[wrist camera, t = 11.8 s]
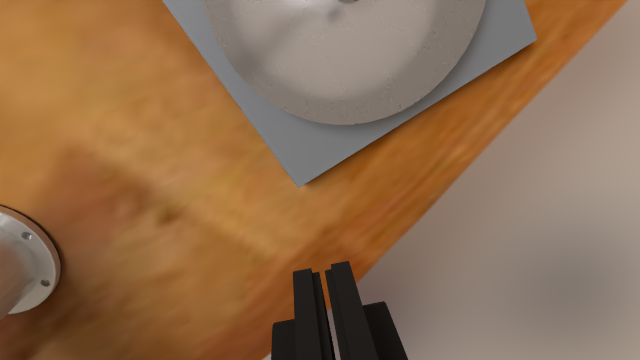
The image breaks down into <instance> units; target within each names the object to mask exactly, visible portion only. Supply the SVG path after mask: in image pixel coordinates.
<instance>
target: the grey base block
mask: <svg viewBox="0 0 640 360" xmlns="http://www.w3.org/2000/svg"><path fill="white" fill-rule="evenodd" d="M162 1H163V2H164V4H165V5H166V6H167V8H168V9H169V10H170V12H171V13H172V15H173V16H174V17H175V19H176V20H177V21H178V23H179V24H180V26H181V27H182V28H183V30H184V31H185V33H186V34H187V35H188V37H189V38H190V39H191V41H192V42H193V44H194V45H195V46H196V48H197V49H198V50H199V52H200V53H201V55H202V56H203V57H204V59H205V60H206V61H207V63H208V64H209V66H210V67H211V68H212V70H213V71H214V73H215V74H216V75H217V77H218V78H219V79H220V81H221V82H222V84H223V85H224V86H225V88H226V89H227V90H228V92H229V93H230V95H231V96H232V97H233V99H234V100H235V101H236V103H237V104H238V106H239V107H240V108H241V110H242V111H243V113H244V114H245V115H246V117H247V118H248V119H249V121H250V122H251V124H252V125H253V126H254V128H255V129H256V130H257V132H258V133H259V135H260V136H261V137H262V139H263V140H264V141H265V143H266V144H267V146H268V147H269V148H270V150H271V151H272V153H273V154H274V155H275V157H276V158H277V159H278V161H279V162H280V164H281V165H282V166H283V168H284V169H285V170H286V172H287V173H288V175H289V176H290V177H291V179H292V180H293V182H294V183H295V184H296V186H297V187H298V188H299V187H301V186H302V185H304V184H306V183H307V182H309V181H311V180H312V179H314V178H315V177H317V176H319V175H320V174H322V173H323V172H325V171H327V170H328V169H330V168H331V167H333V166H335V165H336V164H338V163H339V162H341V161H343V160H344V159H346V158H347V157H349V156H351V155H352V154H354V153H356V152H357V151H359V150H360V149H362V148H364V147H365V146H367V145H368V144H370V143H372V142H373V141H375V140H376V139H378V138H380V137H381V136H383V135H384V134H386V133H388V132H389V131H391V130H393V129H394V128H396V127H397V126H399V125H401V124H402V123H404V122H405V121H407V120H409V119H410V118H412V117H413V116H415V115H417V114H418V113H420V112H421V111H423V110H425V109H426V108H428V107H429V106H431V105H433V104H434V103H436V102H438V101H439V100H441V99H442V98H444V97H446V96H447V95H449V94H450V93H452V92H454V91H455V90H457V89H458V88H460V87H462V86H463V85H465V84H466V83H468V82H470V81H471V80H473V79H474V78H476V77H478V76H479V75H481V74H483V73H484V72H486V71H487V70H489V69H491V68H492V67H494V66H495V65H497V64H499V63H500V62H502V61H503V60H505V59H507V58H508V57H510V56H511V55H513V54H515V53H516V52H518V51H520V50H521V49H523V48H524V47H526V46H528V45H529V44H531V43H532V42H534V41H536V40H537V36H536V33H535V31H534V28H533V25H532V22H531V19H530V16H529V13H528V11H527V8H526V5H525V2H524V0H486V3H485V6H484V10H483V13H482V16H481V18H480V21H479V24H478V26H477V29H476V31H475V33H474V35H473V37H472V39H471V41H470V43H469V45H468V47H467V49H466V50H465V52H464V53H463V55H462V56H461V58H460V59H459V61H458V62H457V64H456V65H455V66H454V68H453V69H452V70H451V71H450V72H449V74H448V75H447V76H446V77H445V78H444V79H443V80H442V81H441V82H440V83H439V84H438V85H437V86H436V87H435V88H434V89H433V90H432V91H431V92H429V93H428V94H427V95H425V96H424V97H423V98H421V99H420V100H419V101H417V102H416V103H414V104H413V105H411V106H409V107H407V108H406V109H404V110H402V111H400V112H398V113H395V114H393V115H391V116H388V117H386V118H382V119H379V120H375V121H372V122H367V123H360V124H354V125H334V124H325V123H318V122H314V121H310V120H306V119H303V118H300V117H298V116H295V115H293V114H290V113H288V112H286V111H284V110H282V109H280V108H279V107H277V106H275V105H273V104H272V103H270V102H269V101H267V100H266V99H265V98H263V97H262V96H261V95H259V94H258V93H257V92H256V91H255V90H254V89H253V88H251V87H250V86H249V85H248V84H247V83H246V82H245V81H244V80H243V79H242V77H241V76H240V75H239V74H238V73H237V71H236V70H235V69H234V68H233V67H232V65H231V64H230V62H229V61H228V59H227V57H226V56H225V54H224V53H223V51H222V50H221V48H220V46H219V44H218V42H217V40H216V38H215V36H214V34H213V32H212V29H211V26H210V24H209V21H208V18H207V15H206V12H205V9H204V5H203V1H202V0H162Z"/></svg>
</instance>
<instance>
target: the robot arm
mask: <svg viewBox="0 0 640 360" xmlns="http://www.w3.org/2000/svg"><path fill="white" fill-rule="evenodd" d="M331 268H332V269H331V270H326V271H325V275H326V280H327V286H328V291H329V297H330V302H331V308H332V313H333V318H334V324H335V329H336V335H337V341H338V346H339V352H340V357H341V360H408V358H407V356H406V353H405V351H404V348H403V345H402V343H401V340H400V338H399V335H398V333H397V330H396V328H395V325H394V323H393V320H392V318H391V315H390V313H389V310H388V307H387V305H386V303H385V302H384V301H383V302H378V303H373V304H368V305H363V306H362V303H361V300H360V296H359V293H358V290H357V286H356V283H355V280H354V276H353V273H352V270H351V266H350V263H349V261H346V262H341V263H336V264H331ZM60 274H61V269H60V260H59V256H58V253H57V251H56V249H55V247H54V245H53V243H52V242H51V240H50V239H49V238H48V236H47V235H46V234H45V233H44V232H43V231H42V230H41V229H40V228H39V227H38V226H37V225H36V224H34V223H33V222H32V221H30V220H29V219H27V218H26V217H24V216H23V215H21V214H19V213H17V212H15V211H13V210H10V209H8V208H5V207H2V206H0V320H1V319H2V318H3V317H4V316H5V315H6V314H14V313H20V312H23V311H27V310H30V309H32V308H34V307H36V306H38V305H39V304H40V303H42V302H43V301H44V300H45V299H46V298H47V297H48V296H49V295H50V294H51V293H52V292H53V291H54V289H55V287H56V285H57V284H58V281H59V278H60ZM293 287H294V313H295V319H292V320H286V321H281V322H276V323H274V324H273V329H272V353H271V360H336V359H335V353H334V347H333V342H332V336H331V331H330V326H329V321H328V316H327V310H326V305H325V300H324V295H323V289H322V284H321V279H320V274H319V272H315V273H312V270H311V268H310V269H304V270H299V271H294V272H293Z"/></svg>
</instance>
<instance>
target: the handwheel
mask: <svg viewBox="0 0 640 360" xmlns="http://www.w3.org/2000/svg"><path fill="white" fill-rule="evenodd" d="M202 1H203V5H204V9H205V12H206V15H207V18H208V21H209V24H210V26H211V29H212V32H213V34H214V36H215V38H216V40H217V42H218V44H219V46H220V48H221V50H222V51H223V53H224V54H225V56H226V57H227V59H228V61H229V62H230V64H231V65H232V67H233V68H234V69H235V70H236V71H237V73H238V74H239V75H240V76H241V77H242V79H243V80H244V81H245V82H246V83H247V84H248V85H249V86H250V87H251V88H253V89H254V90H255V91H256V92H257V93H258V94H259V95H261V96H262V97H263V98H265V99H266V100H267V101H269V102H270V103H272V104H273V105H275V106H277V107H279V108H280V109H282V110H284V111H286V112H288V113H290V114H293V115H295V116H298V117H300V118H303V119H306V120H310V121H314V122H318V123H325V124H334V125H354V124H360V123H367V122H372V121H375V120H379V119H382V118H386V117H388V116H391V115H393V114H395V113H398V112H400V111H402V110H404V109H406V108H407V107H409V106H411V105H413V104H414V103H416V102H417V101H419V100H420V99H421V98H423V97H424V96H425V95H427V94H428V93H429V92H431V91H432V90H433V89H434V88H435V87H436V86H437V85H438V84H439V83H440V82H441V81H442V80H443V79H444V78H445V77H446V76H447V75H448V74H449V72H450V71H451V70H452V69H453V68H454V66H455V65H456V64H457V62H458V61H459V59H460V58H461V56H462V55H463V53H464V52H465V50H466V49H467V47H468V45H469V43H470V41H471V39H472V37H473V35H474V33H475V31H476V29H477V26H478V24H479V21H480V18H481V16H482V13H483V10H484V6H485V3H486V0H202Z"/></svg>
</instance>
